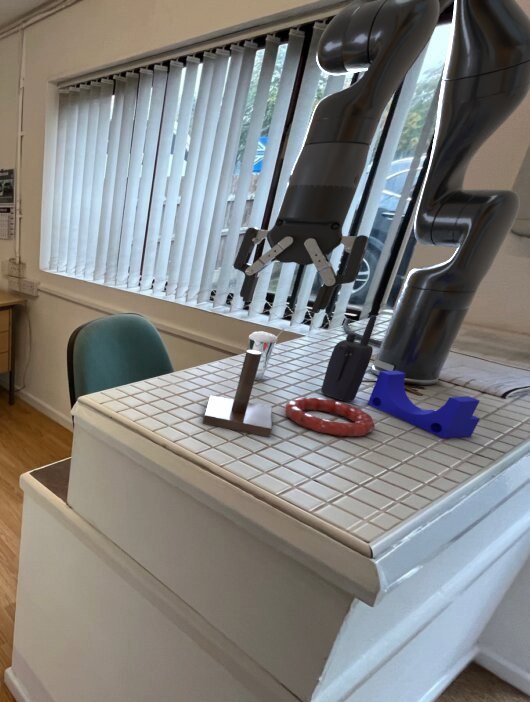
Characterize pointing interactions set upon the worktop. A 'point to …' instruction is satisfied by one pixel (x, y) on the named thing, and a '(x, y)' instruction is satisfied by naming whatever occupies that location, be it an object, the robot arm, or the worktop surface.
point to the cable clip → (442, 422)
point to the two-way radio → (348, 365)
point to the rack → (241, 404)
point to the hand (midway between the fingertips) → (279, 306)
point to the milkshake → (262, 348)
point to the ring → (325, 426)
